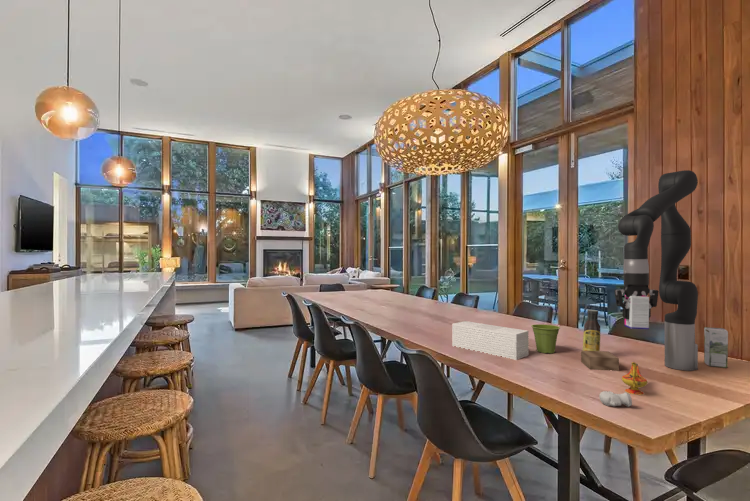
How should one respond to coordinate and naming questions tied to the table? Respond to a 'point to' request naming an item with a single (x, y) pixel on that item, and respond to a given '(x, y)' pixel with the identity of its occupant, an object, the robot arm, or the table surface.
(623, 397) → the smooth white sculpture
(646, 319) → the supplement box
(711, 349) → the syrup box
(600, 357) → the block
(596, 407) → the table surface
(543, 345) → the plant pot
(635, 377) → the magic lamp
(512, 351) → the white textured block
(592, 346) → the sauce bottle
